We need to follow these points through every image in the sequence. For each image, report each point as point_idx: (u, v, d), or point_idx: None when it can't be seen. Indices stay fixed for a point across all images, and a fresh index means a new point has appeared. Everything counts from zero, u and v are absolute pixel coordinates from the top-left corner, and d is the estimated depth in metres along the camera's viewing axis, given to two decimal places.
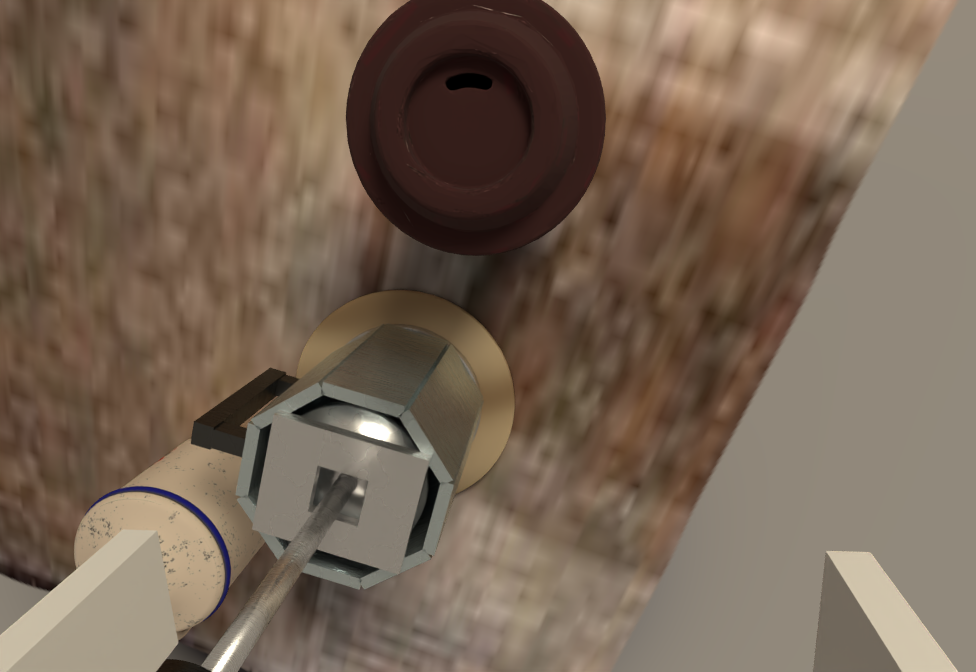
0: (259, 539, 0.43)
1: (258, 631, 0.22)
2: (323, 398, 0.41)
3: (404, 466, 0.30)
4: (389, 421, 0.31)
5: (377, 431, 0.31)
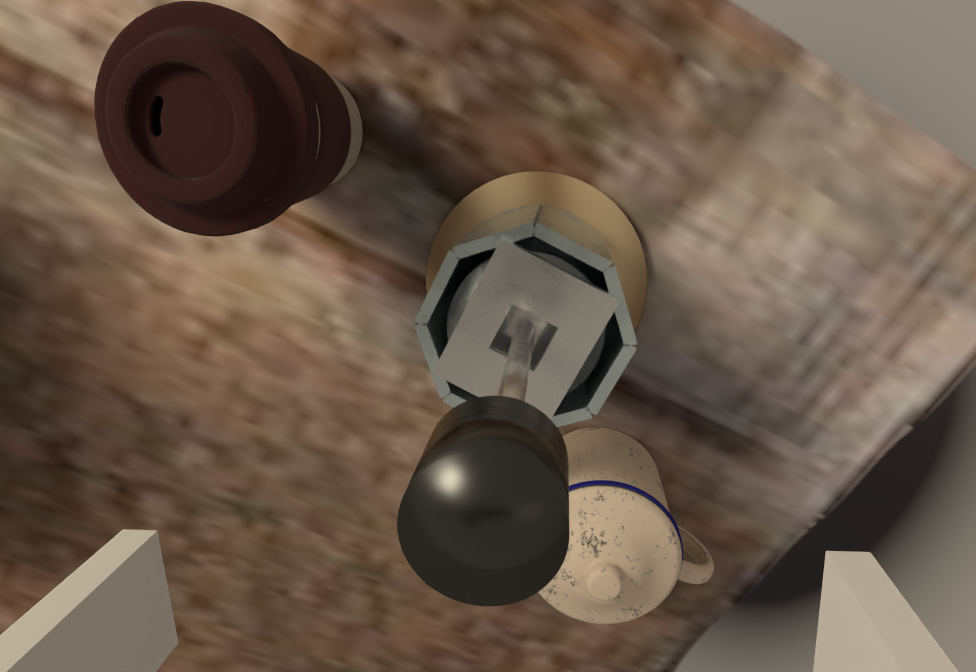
0: (631, 458, 0.42)
1: None
2: None
3: (503, 264, 0.31)
4: (470, 272, 0.32)
5: None
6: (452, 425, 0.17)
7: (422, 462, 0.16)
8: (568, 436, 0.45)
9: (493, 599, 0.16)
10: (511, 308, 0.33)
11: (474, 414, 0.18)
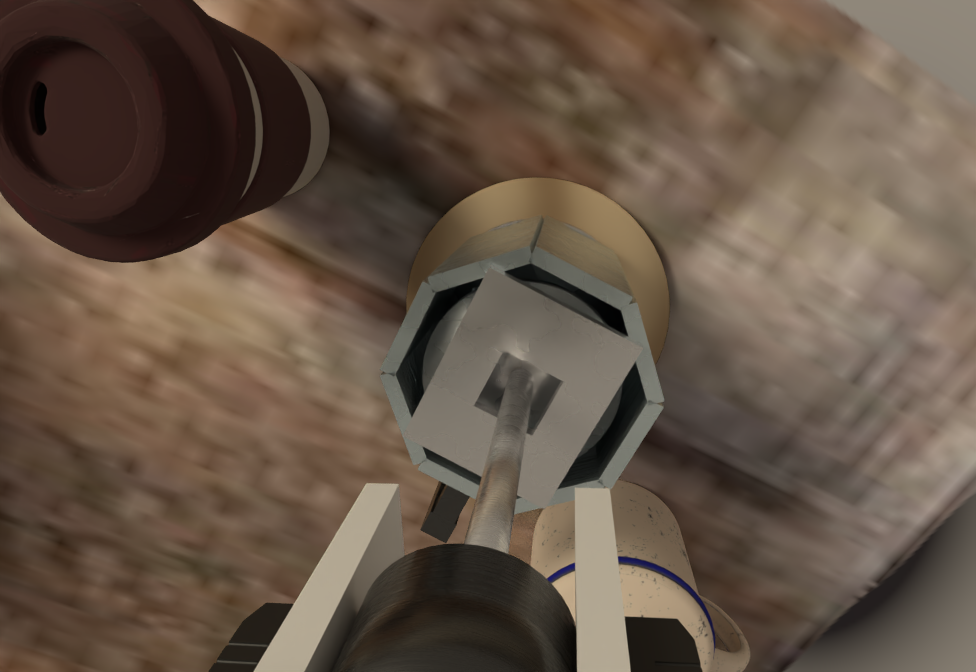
0: (651, 522, 0.35)
1: (490, 513, 0.16)
2: None
3: (491, 300, 0.24)
4: (451, 308, 0.26)
5: None
6: (387, 613, 0.10)
7: None
8: None
9: None
10: (503, 353, 0.26)
11: (423, 590, 0.11)
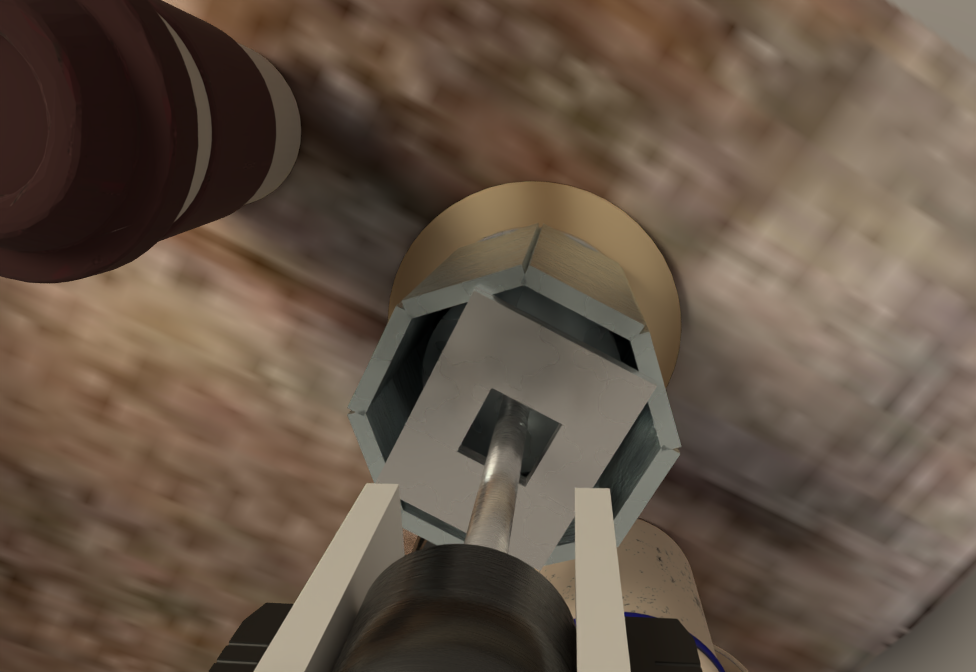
0: (660, 566, 0.31)
1: (490, 513, 0.16)
2: None
3: (476, 329, 0.20)
4: (451, 308, 0.26)
5: None
6: (387, 613, 0.10)
7: None
8: None
9: None
10: None
11: (423, 590, 0.11)
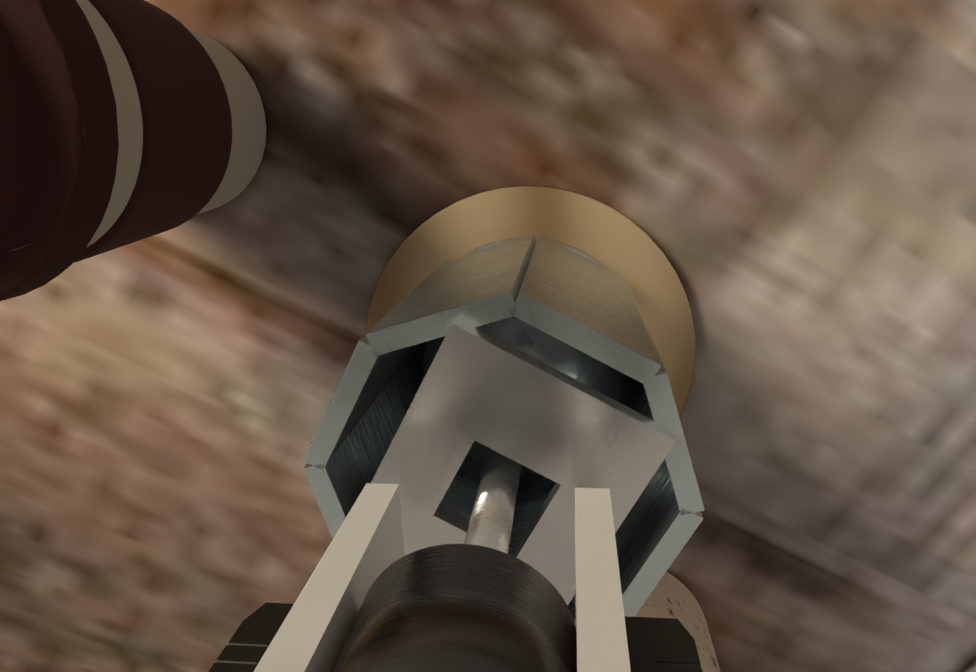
0: None
1: (490, 513, 0.16)
2: (478, 462, 0.28)
3: (456, 370, 0.16)
4: None
5: None
6: (387, 612, 0.10)
7: None
8: None
9: None
10: None
11: (423, 590, 0.11)
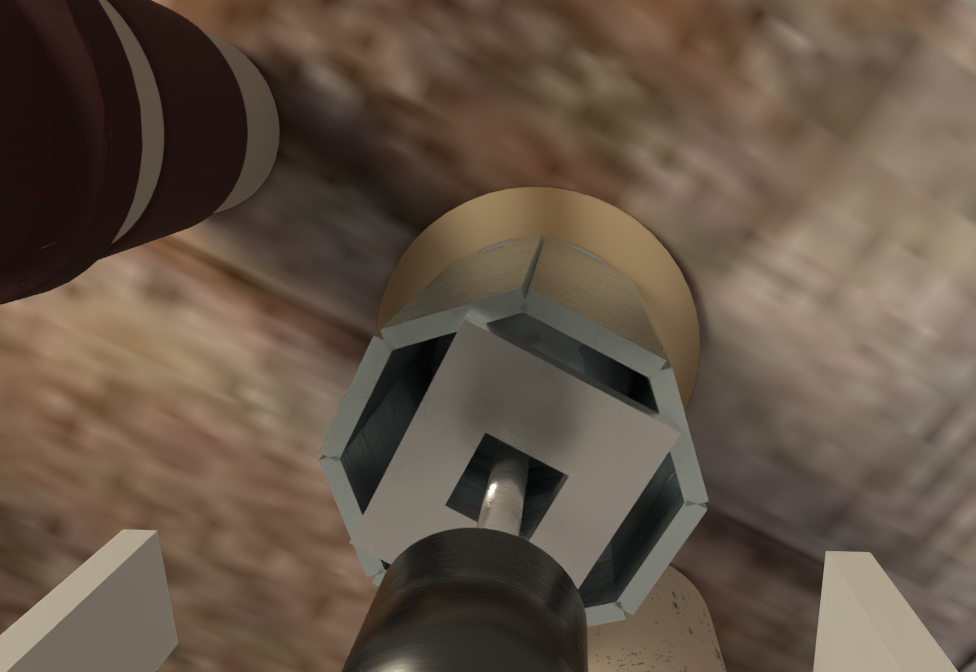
0: (676, 615, 0.28)
1: (500, 502, 0.16)
2: (486, 458, 0.28)
3: (468, 364, 0.17)
4: None
5: None
6: (405, 590, 0.11)
7: (350, 665, 0.10)
8: None
9: None
10: None
11: (439, 570, 0.11)
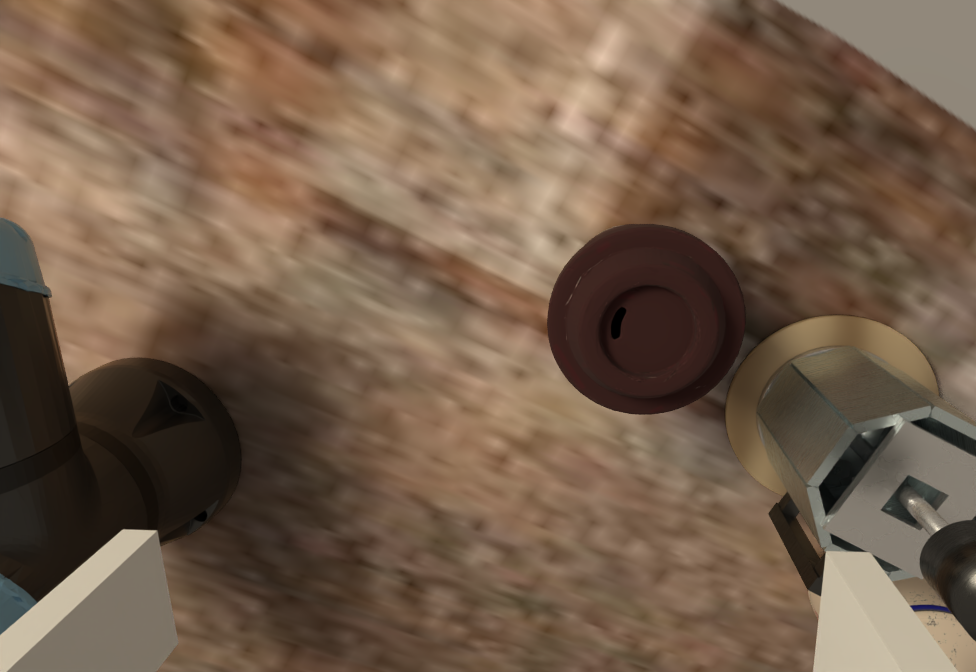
0: None
1: (930, 508, 0.34)
2: None
3: (904, 442, 0.35)
4: None
5: None
6: (970, 543, 0.29)
7: (968, 568, 0.28)
8: None
9: None
10: None
11: None
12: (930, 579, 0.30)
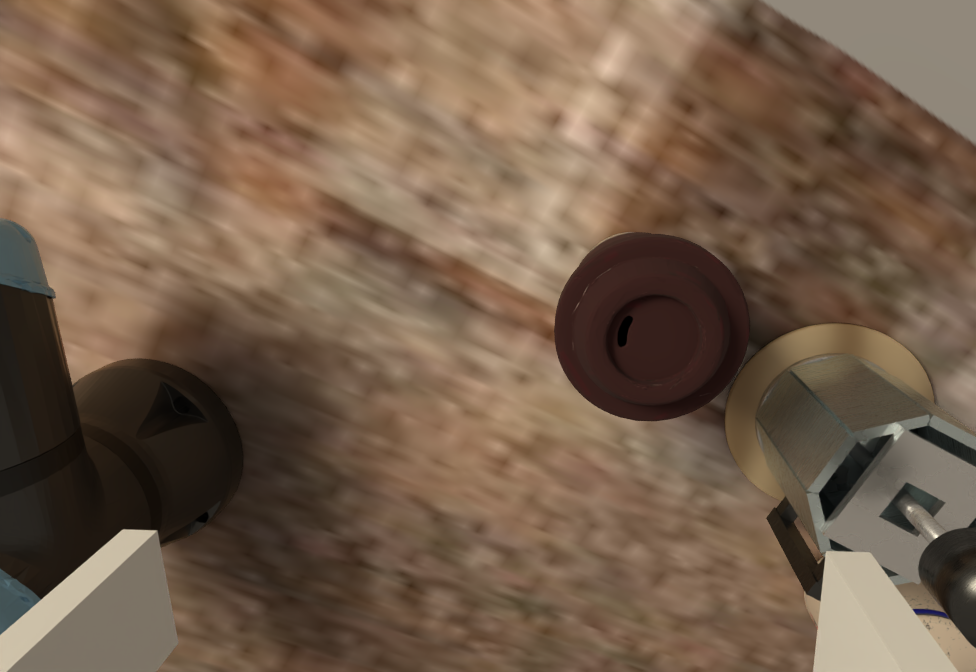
0: None
1: (927, 515, 0.35)
2: None
3: (903, 450, 0.36)
4: None
5: None
6: (968, 550, 0.30)
7: (967, 575, 0.29)
8: None
9: None
10: None
11: None
12: (928, 585, 0.31)
